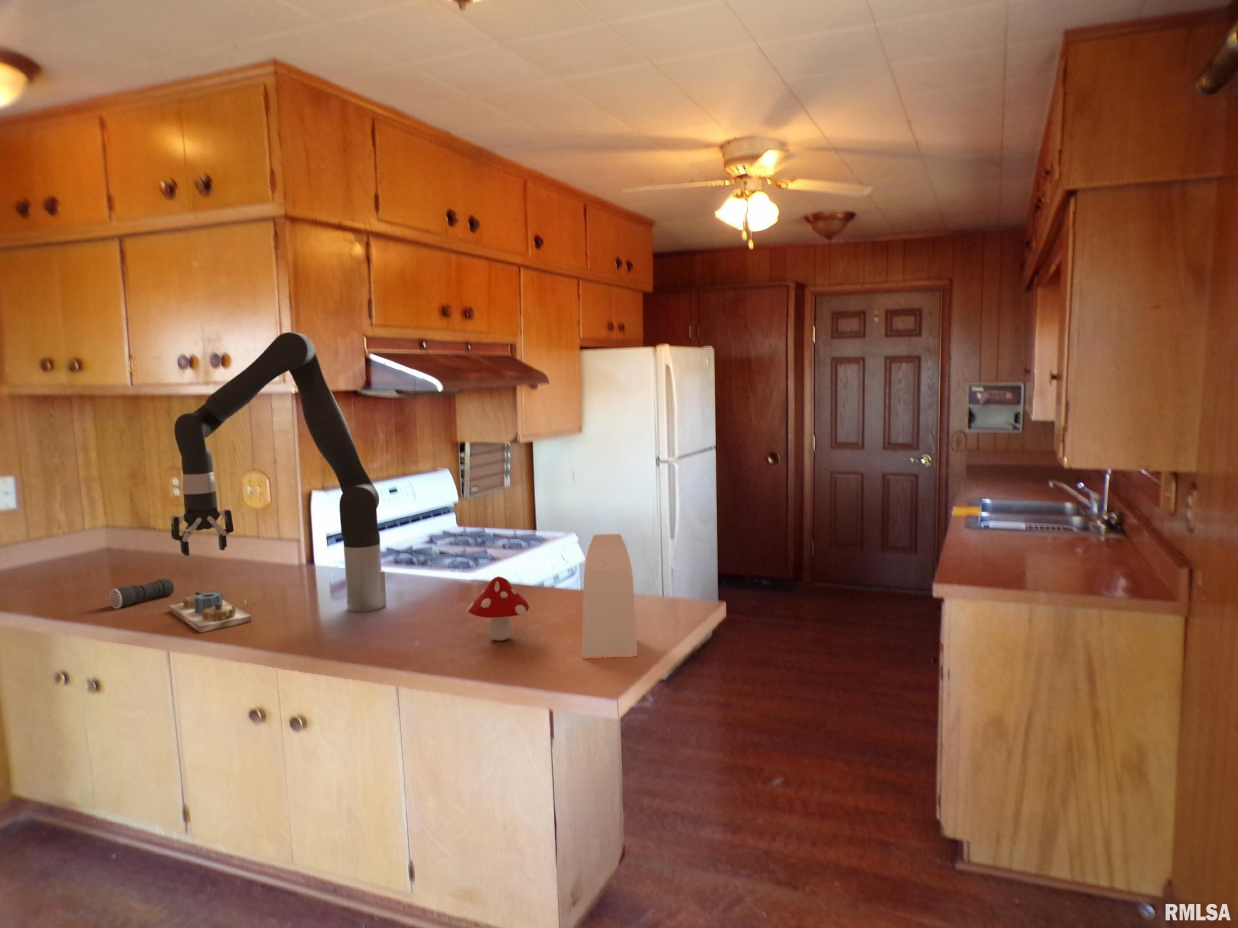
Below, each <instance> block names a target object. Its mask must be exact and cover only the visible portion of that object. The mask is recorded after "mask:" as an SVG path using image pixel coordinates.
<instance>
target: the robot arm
mask: <svg viewBox="0 0 1238 928" xmlns="http://www.w3.org/2000/svg"><path fill="white" fill-rule="evenodd" d="M288 371H289V374H290V375H291V377H292V379H293V381H294V383H295V385H296V387H297V390H298V392H299V397H300V403H301V407H302V414H303V418H304V422H305V424H306V426H307V430H308V431H309V434H310V435H311V438H312V440H313V442H314V444H315V446H316V447H317V449H318V451H319V453H320V454H321V455H322V456H323V458H324V460H325V461H326V462H327V463H328V464H329V466H330V467H331V469H332V471H333V473H334V475H335V477H336V478H337V481H338V484H339V487H340V490H341V492H342V494H341V495H340V498H339V517H340V518H339V519H340V520H339V522H340V530H341V531H340V533H341V537H342V541H343V542H342V543H343V553H344V554H343V555H344V557H343V558H344V571H345V572H344V573H345V575H344V576H345V589H346V592H345V593H346V608H347V611H350V612H353V613H365V612H372V611H377V610H379V609H381V608H384V607H386V606H387V590H386V572H385V570H382V555H381V536H380V532H379V525H378V513H377V512H378V510H377V509H378V508H379V504H380V495H379V492H378V490H377V489H376V487H375V485H374V484H373V481H371V479H370V476H369V475H368V473H367V472H366V469H365V467H364V466H363V463H362V461H361V459H360V456H359V453H358V450H357V448H356V445H355V443H354V442H355V441H354V439H353V436H352V434H351V432H350V429H349V426H348V423H347V421H346V419H345V417H344V415H343V413H342V411H341V410H342V409H340V407H339V404H338V402H337V400H336V398H335V396H334V395H333V392H332V391H331V390H332V389H331V388H330V387H329V385H328V383H327V380H326V378H325V376H324V373H323V370H322V367H321V363H320V361H319V357H318V354H317V350H316V348H315V345H314V343H313V341H312V340H311V339H310V338H309V337H308V336H307V335H304V334H302V333H299V332H294V331H292V332H291V331H287V332H282V333H281V334H279V335H278V336H277V337H276V338H275V339H274V340H273V341H272V342H271V343H270V344H269V345H268V346H267V347H266V349H264V351H263V352H262V353H261V354H260V355H259V356H258V357H257V358H256V359H255V360H254V361H253V362H251V364H249V365H248V366H247V367H245V368H244V370H242V371H241V372H239V373H238V374H237V375H236V376H234V377H233V378H231V379H230V380H229V381H228V382H226V383H225V384H223V385H222V386H221V387H220V388H217V390H216V391H214V392H213V393H212V394H211V395H209V397H207V399H206V400H205V403H204V404H203V405H200V407H199V408H197V409H196V410H194V411H193V412H187V413H183V414H181V415H179V417H177V418H176V420H175V423H174V430H173V431H174V432H173V433H174V438H175V441H176V445H177V449H178V451H179V454H180V457H181V471H182V481H181V483H182V488H181V490H182V493H183V495H182V497H183V508H184V514H183V515H180V516H179V515H178V516H176V515H171V518H170V526H171V529H170V530H171V535H170V536H171V539H173V540H174V541H179V543H180V544H179V545H180V552H181V554H183V555H184V556H185V557H189V556H190V546H189V541H188V540H189V538H190V537H191V535H193V533H194V532H195V531H197V532H198V531H199V532H200V531H202V530H211V529H213V530H215V531H216V533H218V534H219V535H217V536H218V548H219V550H220V551H225V550H226V548H227V546H228V543H227V542H228V540H227V535H228V534H230V533H234V529H235V528H234V523H233V516H232V515H233V514H232V511H231V510H230V509H223V510H219V509H218V499H217V490H216V489H217V488H216V479H215V476H214V473H215V472H214V466H213V455H212V453H211V451H210V450H208V449H207V445H206V440H205V439H206V438H207V437H209V436H211V435H212V434H213V433H214V432H215V431H217V430H218V429H219V428H220V427H221V426H222V425H223V423H225V422H226V421H227V419H229V418H231V417H232V416H233V415H235V414H236V413H238V412H239V411H240V410H242V409H243V408H244V407H245V406H246V405H248V404H249V403H250V402H251V401H252V400H253V399H254V398H255V397H256V396H257V395H258V394H259V393H260V392H261V391H262V390H263V389H264V388H265V387H266V386H267V385H269V383H270V382H272V381H273V380H275V379H276V378H277V377H279V376H282V375H283V374H284V373H287V372H288ZM220 517H221V518H222V519H224V526H225V528H223V527H222V526H221V525H220V524H219V523H218V522H217V521H218V519H219V518H220ZM183 521H184V522H185V524H186V526H185V527H184V529H183V531H182V533H181V534H180V525H182V524H183Z"/></svg>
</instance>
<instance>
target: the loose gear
mask: <svg viewBox="0 0 1238 928" xmlns="http://www.w3.org/2000/svg"><path fill="white" fill-rule="evenodd" d="M201 593H202V592H201ZM194 597H195V598H194V609H195V613H196V614H197V613H200V614H202V612H203V610H204V609H209V608H212V607H213V606H215V605H216V604H217V603H221V604H222V606H223V602H222V600H223V594H222V592H216V591H212V592H204V593H202V594H201V595H196V596H194Z"/></svg>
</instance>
